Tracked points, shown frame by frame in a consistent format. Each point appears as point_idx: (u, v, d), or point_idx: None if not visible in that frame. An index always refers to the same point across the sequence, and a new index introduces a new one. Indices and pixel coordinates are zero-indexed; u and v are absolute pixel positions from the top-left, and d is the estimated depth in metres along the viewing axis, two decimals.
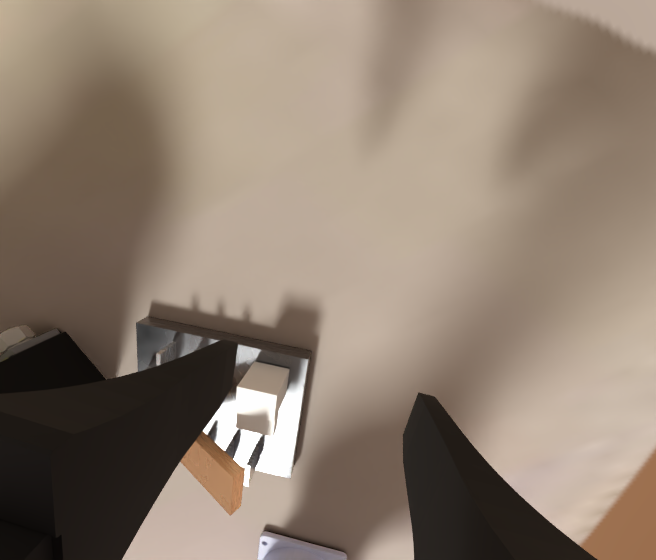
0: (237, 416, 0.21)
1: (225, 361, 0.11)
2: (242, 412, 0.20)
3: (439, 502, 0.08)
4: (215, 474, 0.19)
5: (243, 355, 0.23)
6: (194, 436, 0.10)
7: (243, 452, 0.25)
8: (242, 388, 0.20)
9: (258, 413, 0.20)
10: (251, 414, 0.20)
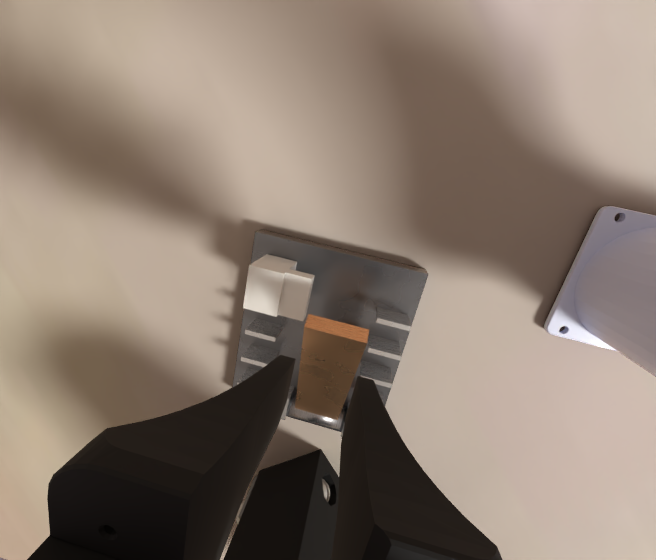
0: (287, 316, 0.18)
1: (287, 378, 0.11)
2: (275, 308, 0.18)
3: (352, 476, 0.08)
4: (321, 350, 0.16)
5: None
6: (260, 456, 0.10)
7: (386, 327, 0.20)
8: (245, 302, 0.18)
9: (274, 290, 0.17)
10: (280, 298, 0.18)
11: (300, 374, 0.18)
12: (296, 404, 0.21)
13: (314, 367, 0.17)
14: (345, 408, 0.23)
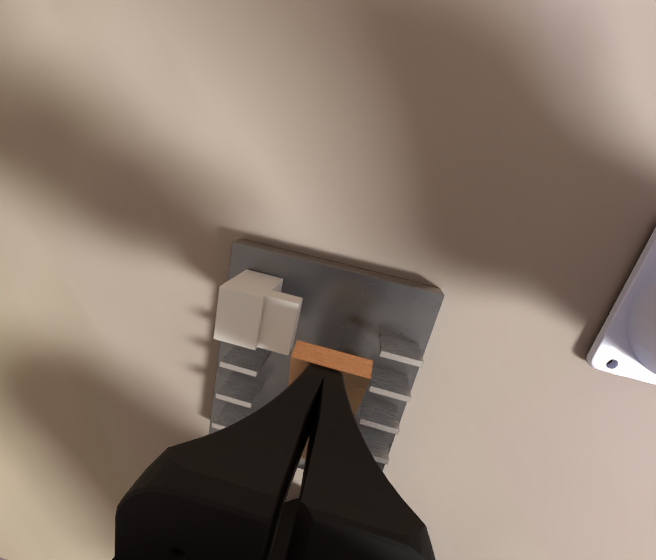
0: (268, 348, 0.14)
1: (320, 388, 0.11)
2: (253, 339, 0.14)
3: None
4: None
5: None
6: (296, 467, 0.10)
7: None
8: (216, 332, 0.14)
9: (252, 317, 0.14)
10: (259, 327, 0.14)
11: None
12: None
13: None
14: None
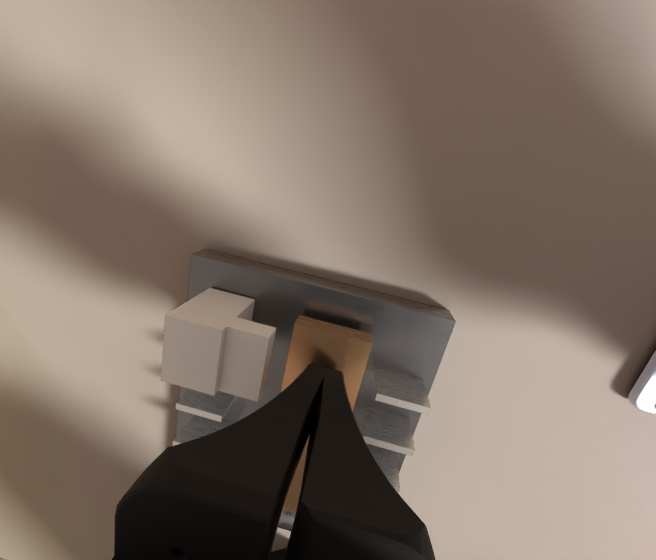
0: (232, 392, 0.11)
1: (320, 388, 0.11)
2: (211, 382, 0.11)
3: (308, 463, 0.08)
4: None
5: None
6: (296, 467, 0.10)
7: None
8: (164, 373, 0.11)
9: (208, 355, 0.11)
10: (219, 367, 0.11)
11: None
12: None
13: None
14: None
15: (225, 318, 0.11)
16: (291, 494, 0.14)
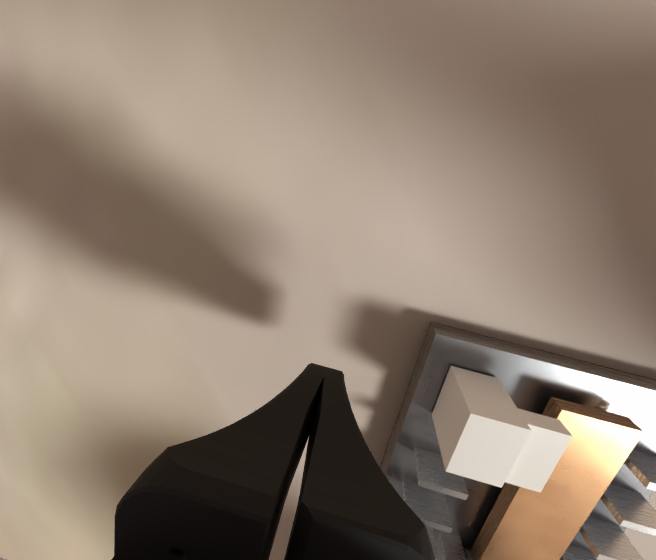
0: (514, 483, 0.11)
1: (320, 388, 0.11)
2: (502, 476, 0.11)
3: (308, 463, 0.08)
4: (570, 449, 0.12)
5: (420, 427, 0.15)
6: (296, 467, 0.10)
7: (624, 472, 0.14)
8: (451, 465, 0.11)
9: (508, 451, 0.11)
10: (511, 461, 0.11)
11: (517, 497, 0.13)
12: None
13: None
14: None
15: (513, 411, 0.11)
16: None
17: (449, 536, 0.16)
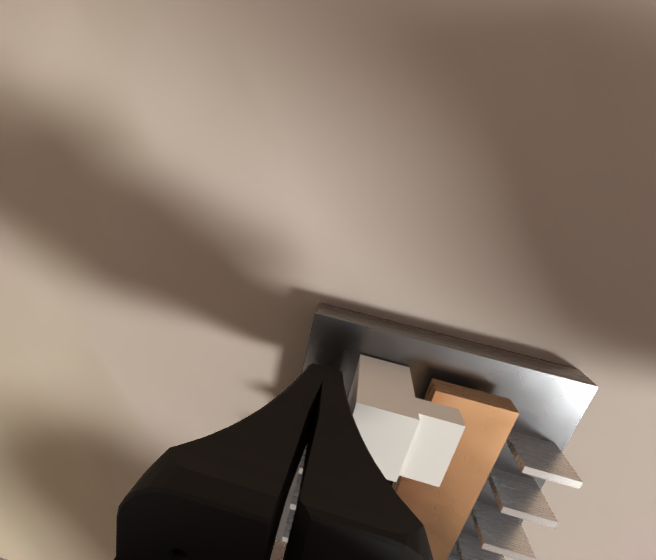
0: (411, 477, 0.11)
1: None
2: (395, 469, 0.10)
3: (307, 463, 0.08)
4: None
5: None
6: (297, 467, 0.10)
7: None
8: None
9: (398, 443, 0.10)
10: (405, 454, 0.10)
11: (402, 484, 0.13)
12: None
13: None
14: None
15: (408, 400, 0.11)
16: None
17: None
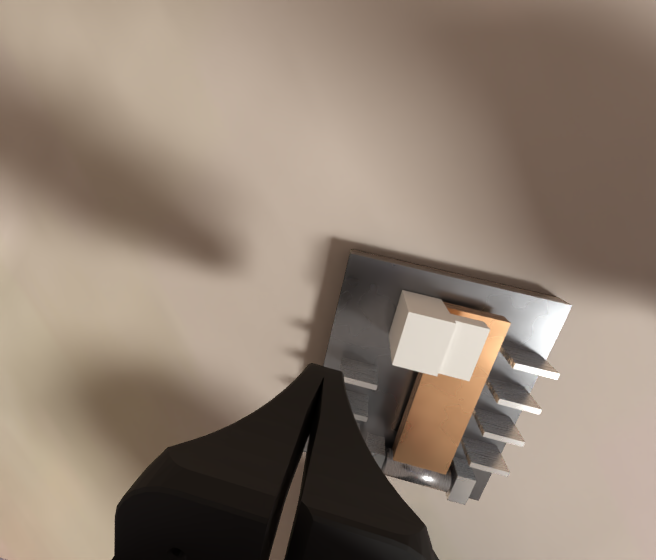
0: (448, 374, 0.14)
1: (320, 388, 0.11)
2: (437, 366, 0.14)
3: (308, 463, 0.08)
4: None
5: (344, 338, 0.17)
6: (296, 467, 0.10)
7: (509, 368, 0.17)
8: (396, 359, 0.14)
9: (440, 343, 0.13)
10: (444, 353, 0.14)
11: (419, 389, 0.16)
12: (397, 451, 0.17)
13: None
14: None
15: (445, 314, 0.14)
16: (423, 452, 0.17)
17: (375, 437, 0.19)
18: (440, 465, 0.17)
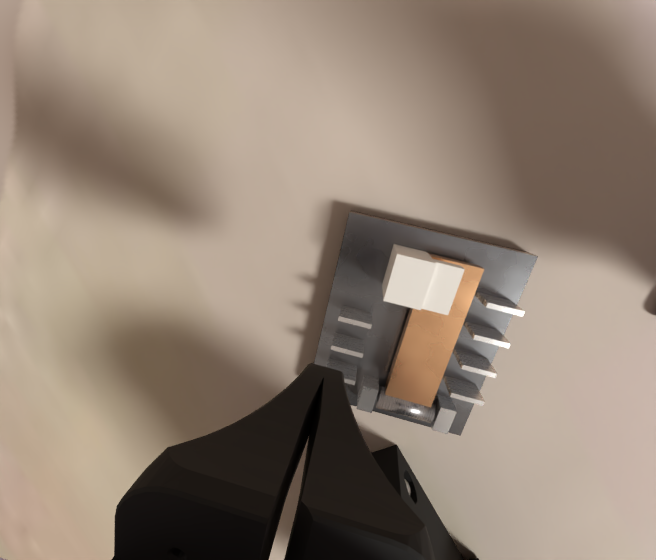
0: (430, 309, 0.17)
1: (320, 388, 0.11)
2: (420, 301, 0.16)
3: (308, 463, 0.08)
4: None
5: (344, 288, 0.20)
6: (296, 467, 0.10)
7: (486, 313, 0.19)
8: (386, 295, 0.17)
9: (422, 281, 0.16)
10: (426, 290, 0.16)
11: (408, 329, 0.19)
12: (388, 386, 0.20)
13: (426, 314, 0.19)
14: None
15: (428, 258, 0.17)
16: (411, 387, 0.20)
17: (370, 377, 0.21)
18: (426, 398, 0.20)
